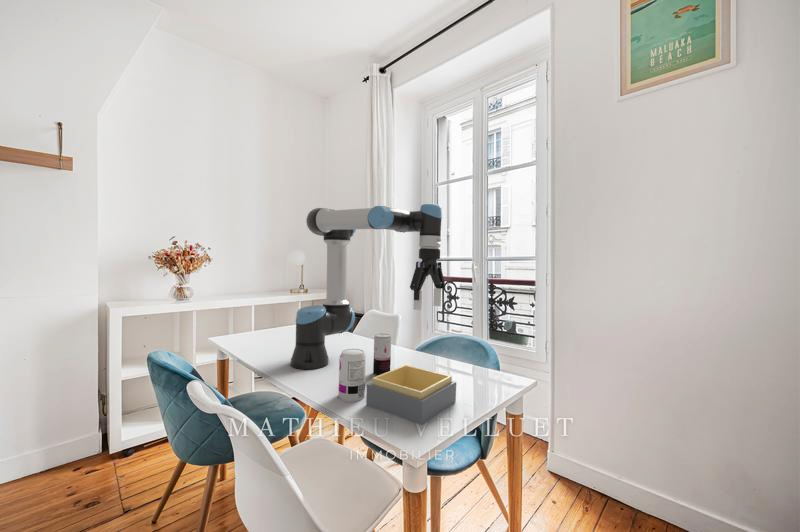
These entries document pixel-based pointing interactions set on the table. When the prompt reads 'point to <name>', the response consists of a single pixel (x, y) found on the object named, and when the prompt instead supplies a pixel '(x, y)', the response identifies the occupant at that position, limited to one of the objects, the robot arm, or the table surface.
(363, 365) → the supplement can
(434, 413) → the outer crate
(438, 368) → the table surface
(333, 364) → the table surface
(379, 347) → the beverage can
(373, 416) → the table surface
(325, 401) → the table surface
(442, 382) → the inner crate
